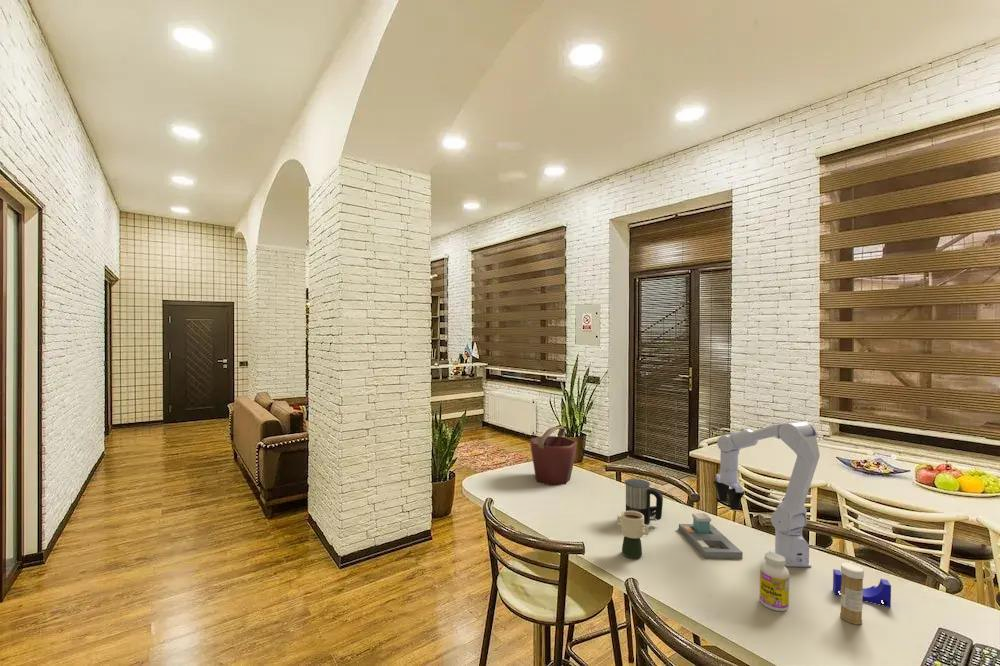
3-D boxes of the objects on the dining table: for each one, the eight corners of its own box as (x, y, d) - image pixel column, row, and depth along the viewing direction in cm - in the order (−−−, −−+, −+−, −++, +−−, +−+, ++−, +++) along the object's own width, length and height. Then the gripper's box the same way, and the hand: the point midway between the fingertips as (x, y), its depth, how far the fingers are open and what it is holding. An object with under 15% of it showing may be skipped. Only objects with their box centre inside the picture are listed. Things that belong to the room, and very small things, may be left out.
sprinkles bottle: (841, 611, 118) (842, 560, 118) (863, 619, 115) (864, 566, 115) (838, 619, 115) (839, 566, 115) (861, 628, 112) (862, 573, 112)
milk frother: (624, 524, 170) (625, 485, 170) (623, 508, 185) (624, 472, 185) (664, 529, 166) (665, 488, 166) (660, 512, 182) (660, 475, 182)
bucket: (554, 469, 236) (555, 421, 236) (587, 480, 219) (588, 428, 219) (519, 478, 220) (520, 427, 220) (552, 491, 203) (553, 435, 203)
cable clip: (885, 599, 125) (885, 577, 125) (890, 608, 120) (891, 585, 120) (831, 587, 130) (832, 566, 130) (835, 595, 126) (835, 574, 126)
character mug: (653, 557, 145) (653, 516, 145) (642, 565, 140) (643, 523, 140) (622, 545, 153) (623, 507, 153) (611, 552, 148) (611, 512, 148)
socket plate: (742, 558, 145) (742, 551, 145) (705, 558, 145) (705, 550, 145) (711, 529, 166) (711, 523, 166) (678, 529, 166) (678, 523, 166)
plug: (710, 538, 159) (711, 518, 159) (697, 538, 159) (698, 518, 159) (704, 532, 164) (704, 513, 164) (691, 532, 164) (692, 513, 164)
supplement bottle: (755, 603, 121) (756, 555, 121) (764, 594, 125) (765, 548, 125) (783, 615, 116) (784, 565, 116) (792, 606, 120) (793, 557, 120)
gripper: (708, 462, 172) (707, 497, 172) (728, 474, 158) (727, 513, 158) (726, 462, 173) (726, 498, 173) (748, 474, 158) (747, 513, 158)
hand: (728, 505), depth 165 cm, fingers open, 7 cm apart
